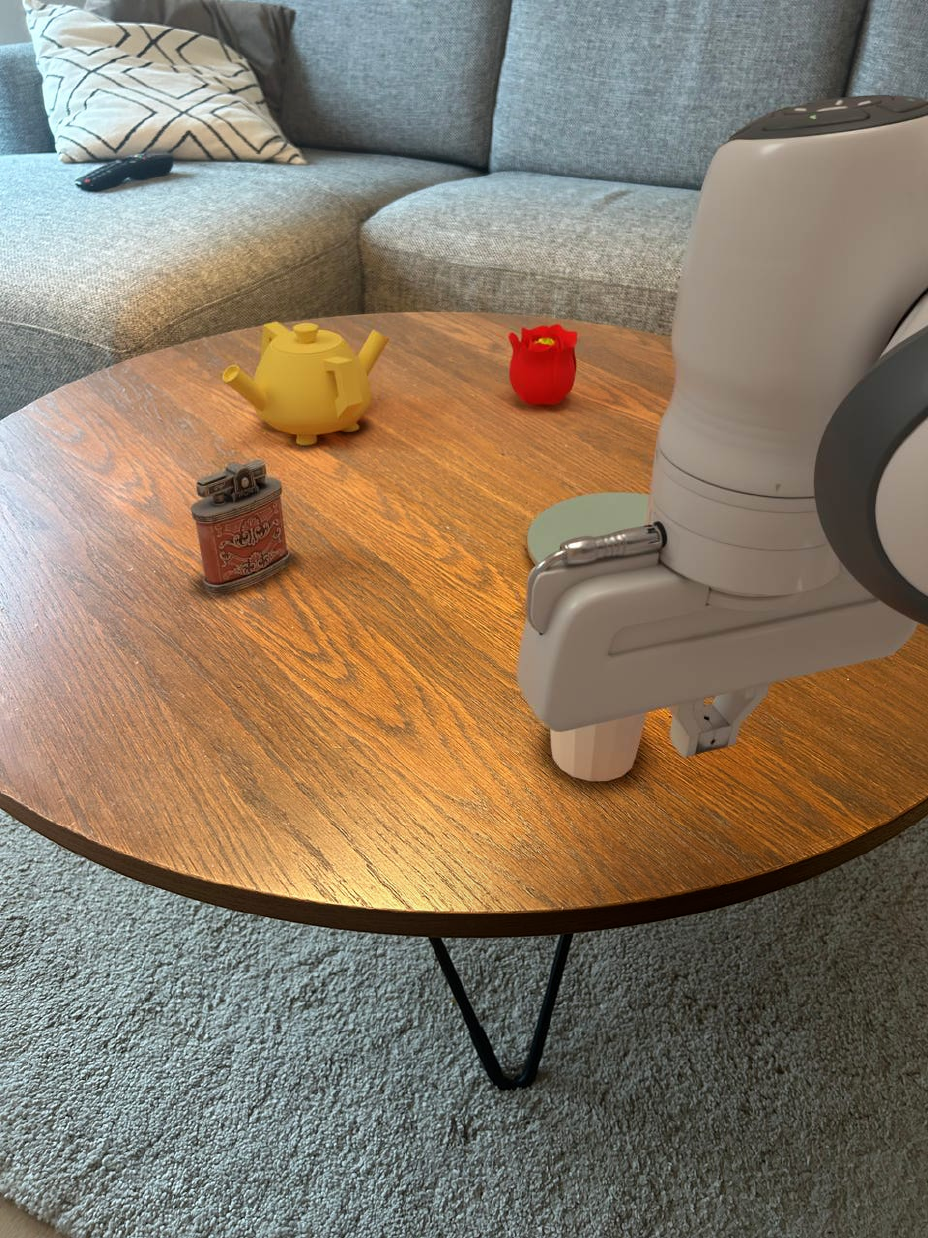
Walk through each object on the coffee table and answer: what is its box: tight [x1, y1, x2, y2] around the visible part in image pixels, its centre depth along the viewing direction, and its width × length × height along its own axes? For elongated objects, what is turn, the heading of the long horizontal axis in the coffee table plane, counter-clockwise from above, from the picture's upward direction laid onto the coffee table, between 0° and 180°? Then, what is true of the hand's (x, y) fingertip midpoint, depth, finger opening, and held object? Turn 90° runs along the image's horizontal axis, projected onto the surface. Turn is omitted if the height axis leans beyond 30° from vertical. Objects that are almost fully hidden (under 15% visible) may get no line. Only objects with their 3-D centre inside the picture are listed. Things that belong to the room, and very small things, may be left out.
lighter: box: [190, 459, 291, 596], centre depth 83 cm, size 8×3×10 cm, turn 135°
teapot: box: [221, 320, 390, 446], centre depth 107 cm, size 20×18×11 cm
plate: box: [526, 491, 649, 566], centre depth 88 cm, size 18×18×2 cm
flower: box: [508, 323, 579, 406], centre depth 114 cm, size 8×8×8 cm
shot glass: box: [549, 712, 648, 782], centre depth 65 cm, size 7×7×7 cm
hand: (701, 744), depth 52 cm, fingers closed
